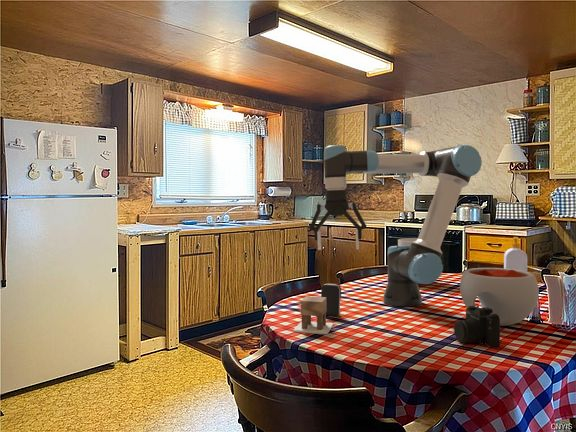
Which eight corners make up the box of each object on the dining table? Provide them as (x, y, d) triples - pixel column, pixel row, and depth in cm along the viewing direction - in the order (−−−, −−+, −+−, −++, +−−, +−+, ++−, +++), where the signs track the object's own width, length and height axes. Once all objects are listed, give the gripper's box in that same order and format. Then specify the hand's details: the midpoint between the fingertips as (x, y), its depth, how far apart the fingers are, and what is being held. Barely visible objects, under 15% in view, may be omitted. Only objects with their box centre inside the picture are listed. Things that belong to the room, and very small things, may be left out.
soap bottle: (524, 284, 219) (524, 236, 218) (527, 287, 212) (527, 238, 211) (503, 283, 221) (503, 236, 220) (505, 286, 215) (506, 237, 214)
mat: (333, 324, 153) (333, 323, 153) (327, 334, 143) (327, 332, 143) (301, 322, 156) (301, 320, 156) (293, 331, 146) (293, 329, 146)
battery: (342, 314, 166) (342, 283, 166) (339, 317, 163) (338, 285, 162) (324, 312, 169) (324, 282, 169) (320, 315, 166) (320, 283, 165)
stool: (326, 324, 152) (326, 297, 152) (322, 330, 145) (322, 302, 145) (306, 322, 154) (305, 296, 154) (300, 328, 147) (300, 300, 147)
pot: (555, 331, 143) (555, 274, 143) (481, 333, 142) (481, 276, 141) (511, 312, 167) (512, 263, 167) (448, 314, 165) (448, 265, 165)
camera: (445, 335, 141) (445, 302, 141) (477, 333, 143) (477, 301, 142) (468, 349, 127) (468, 314, 127) (504, 347, 129) (504, 312, 128)
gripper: (372, 187, 163) (374, 247, 164) (303, 191, 169) (306, 248, 170) (371, 187, 156) (373, 249, 157) (299, 191, 162) (302, 251, 163)
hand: (338, 249), depth 163 cm, fingers open, 13 cm apart
